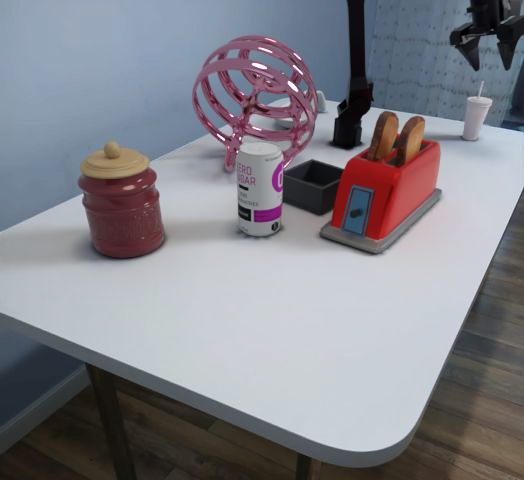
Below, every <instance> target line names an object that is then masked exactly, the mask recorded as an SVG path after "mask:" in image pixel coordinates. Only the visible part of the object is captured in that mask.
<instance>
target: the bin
mask: <svg viewBox="0 0 524 480" xmlns="http://www.w3.org/2000/svg"><path fill="white" fill-rule="evenodd" d="M344 169H345V168H343V167H339V166H336V165H333V164H330V163H326V162H323V161H320V160H317V159H314V158H310V159H308V160H306V161H304V162H301V163H299V164H297V165H295V166H292V167H290V168H288V169H286V170H283V190H282V202H285V203H286V204H287V203H288V204H290V205H293V206H295V207H298V208H301V209H304V210H306V211H309V212H311V213H314V214H316V215H318V216H321V215H324V214H325V213H327V212H329V211H331V210H332V209H334V204H335V199H336V194H337V190H338V186H339V182H340V178H341V175H342V173H343V171H344Z"/></svg>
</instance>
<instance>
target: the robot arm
mask: <svg viewBox="0 0 524 480" xmlns="http://www.w3.org/2000/svg"><path fill="white" fill-rule="evenodd" d="M345 1H346V2H345V3H346V12H347V15H346V16H347V39H348V64H349V65H348V66H349V73H348V74H349V75H348V80H347V87H346V93H345V98H344V99H342V101H341V102H340V103H339V104H338V105H336V110H337V117H335V118H334V122H333V123H334V125H333V134H332V140H331V141H328V145H330V146H333V147H338V148H341V149H344V150H351V149H354V148H356V147H358V146H361V145H363V141H362V135H363V134H362V133H363V126H362V122H363V119H362V118H363V116H365V115H367V114H368V112H370V110H371V108H372V102H373V103H374V102H375V100H374V99H375V98H374V96H373V94H374V93H373V91H374V85H375V84H374V81H373V78H372V77H371V76H370V77H367V73H366V29H365V28H366V26H365V24H366V23H365V2H366V0H345ZM522 5H523V0H469V6H467V7H466V8H465V9H466V14H471V19H472V21H469V22H464V23H463V24H461V25H460V26H458V27H457V28H455V29H453V30H452V31H450V34H449V37H448V40H449V45H450V46H453V47H454V49H455V50H457V51H458V52H459V53H460V54H461V55H462V56H463V58H464V59H465V60H466V61H467V63H468V64H469V65H470V67H471V68H472V69H473V71H474V72H476V73H477V72H478V71H480V69H481V67H480V66H481V64H480V63H481V62H480V50H479V49H480V48H479V43H480V41H481V37H486V36H487V37H488V36H495V35H496V39H497V40H498V42H496V46H497V49H498V52H499V56H500V60H501V63H502V66H503V68H504V70H505V72H508V71H509V70H510V69H511V68H512V64H513V59H514V55H515V52H516V48H517V45H518V43H519V41H520V40H521V38H522V36H524V14H523V15H522V14H521V10H522Z"/></svg>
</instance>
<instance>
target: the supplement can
mask: <svg viewBox="0 0 524 480" xmlns="http://www.w3.org/2000/svg"><path fill="white" fill-rule="evenodd" d="M281 151H282V150H281V146H280V145H279V143H278V144H277V143H275V142H274V141H266V140H252V141H247V142H244V143H243V144H242V145H241V146H240V149H239V151H238V153H237V155H236V157H235V159H236V162H235V163H236V189H237V191H236V194H237V223H238V228H239V229H240V230H241V231H242V232H243V233H245V234H246V235H249V236H251V237H268V236H272V235H274V234H276V233H277V232H278V231H279V230H280V229H281V227H282V220H283V219H282V217H283V201H282V190H283V171H284V169H283V162H284V160H283V154H282V152H281Z"/></svg>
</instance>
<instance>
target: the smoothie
mask: <svg viewBox="0 0 524 480" xmlns="http://www.w3.org/2000/svg"><path fill="white" fill-rule="evenodd" d="M484 83H485V81H484V80H481V82H480V86H479V90H478V94H477V96H469V97H467V99H466V101H465V103H466V109H465V117H464V123H463V131H462V136H461V137H462V139H463V140H464V141H465V140H466V141H472V142H473V141H476V140H477V139H478V138H479V137H478V136H479V134H480V132H481V130H482V127H483V124H484V122H485V120H486V117H487V115H488V112H489V111H490V107H491V106H492V105H493V99H492V98H489V97H485V96H481V94H482V91H483V87H484Z"/></svg>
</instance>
